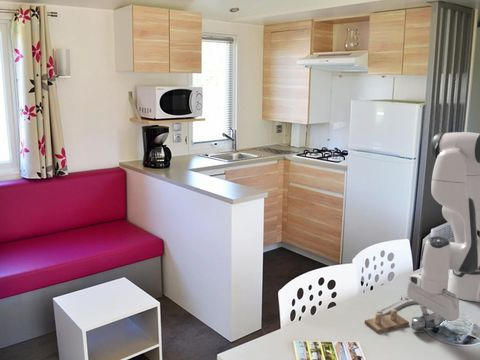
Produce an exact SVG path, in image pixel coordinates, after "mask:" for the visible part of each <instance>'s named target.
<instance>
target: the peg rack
mask: <svg viewBox="0 0 480 360" xmlns="http://www.w3.org/2000/svg"><path fill="white" fill-rule="evenodd" d="M364 324H365V325H366V326H367V327H368V328H370V329H372V330H373V331H374V332H375V331H376V332H375V333H377V334H378V333H379V334H380V333H382V332H386V331H390V330H395V329H398V328H403V327H406V326H409V325H410V322H409V321H408V320H407V319H405V318H404V317H402V315H401V316H400V315H399V314H398V309H397V310H395V309H392V310H391V313H389V314H387V315H385V316H382V314H381V313H377V312H376V313H375V317H373V318H368V319H364Z"/></svg>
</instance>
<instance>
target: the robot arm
mask: <svg viewBox="0 0 480 360" xmlns="http://www.w3.org/2000/svg"><path fill="white" fill-rule="evenodd" d="M429 151H430V154H431V156H432V158H433V159H434V160H435V162H434V166H433V170H432V175H431V187H430V189H431V190H430V192H431V193H430V194H431V196H432V198H433V199H434V200H435V201H436V203H438V204H439V205H441V206H442V208H441V214H442V217H443V218H444V220H446V222H447V223H448V224H449V226H450V228H451V231H452V234H453V237H454V241H453V242H452V241H450V239H447V238H445V237H444V236H443V237H442V236H438V235H435V236H430V237H428V238H427V239H426V241H425V243H423V245H422V247H421V254H420V260H421V262H422V263H421V264H422V270H421V272H417V273H413V274H411V275H408V280H409V282H408V284H407V288H406V289H407V291H406V292H407V293H406V294H407V295H408V297H409V298H410V299H412V300H414V301H415V302H417V303H416V304H419V308H420V310H421V313H422V314H421V316H424V315H428V314H430V313H429V312H428V310H429V311H431V312H432V313H435V316H436V318H432V323H434V324H435V325H437V324H439V320H440V319H441V318H442V317H443V318H445V319H446V320H447V322H454V321H457V320H458V319H459V317H460V301H459V299H460V300H463V301H469V302H477V303H480V236H479V235H478V232H480V133H479V132H472V131H471V132H469V131H462V132H461V131H460V132H459V131H455V132H454V131H453V132H445V131H443V132H439V133H438V132H437V133H436V134H435V135H434V136H433V137H432V138H431V140H430V145H429Z"/></svg>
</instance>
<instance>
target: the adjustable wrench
mask: <svg viewBox="0 0 480 360" xmlns="http://www.w3.org/2000/svg"><path fill="white" fill-rule="evenodd" d="M414 304H418V303H417V302H415V301H414V300H412V299H410V298H409V297H408V295H407V293H406V294H403V295H401V296H400V300H399V301H397V302H394V303H392V304H391V305H388V306H386V307H384V308H381V309H380V310H378V311H376V313H381V314H382V316H385V315H389V314H391V310H392V309H395V310H397V311H398V310H399V309H401V308H403V307H404V306H407V305H414Z"/></svg>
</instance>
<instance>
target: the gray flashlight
mask: <svg viewBox="0 0 480 360" xmlns="http://www.w3.org/2000/svg"><path fill="white" fill-rule="evenodd" d="M432 318H436V316H435V313H434V312H432V313H429V314H428V315H424V316H422V315H421V316H414V317H412V318H411V325H410V327H411V329H412V330H413V331H416V332H423V331H425V330H427V329H430V328H434V327H437V326H441V325H440V324H441V323H442V322H443V321H445V320H446V319H445V318H443V317H442V318H441V319H440V320H439V324H437V325H435V324H434V323H432Z"/></svg>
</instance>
